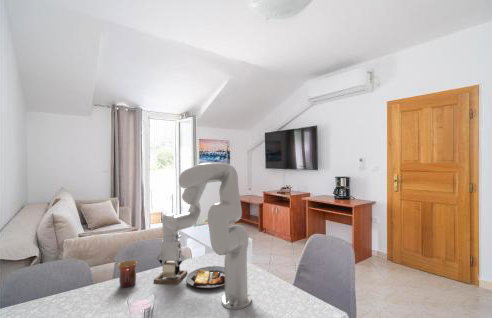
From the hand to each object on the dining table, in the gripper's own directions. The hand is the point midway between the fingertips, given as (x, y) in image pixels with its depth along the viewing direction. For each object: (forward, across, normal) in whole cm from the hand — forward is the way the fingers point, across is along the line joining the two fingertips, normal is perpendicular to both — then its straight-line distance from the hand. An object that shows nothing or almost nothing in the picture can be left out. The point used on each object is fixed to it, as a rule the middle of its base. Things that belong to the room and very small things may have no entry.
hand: (171, 272), depth 132 cm
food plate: (+3, -21, -1) cm, 21 cm away
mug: (+3, +17, +11) cm, 21 cm away
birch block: (+1, 0, 0) cm, 1 cm away
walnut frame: (+3, 0, 0) cm, 3 cm away
